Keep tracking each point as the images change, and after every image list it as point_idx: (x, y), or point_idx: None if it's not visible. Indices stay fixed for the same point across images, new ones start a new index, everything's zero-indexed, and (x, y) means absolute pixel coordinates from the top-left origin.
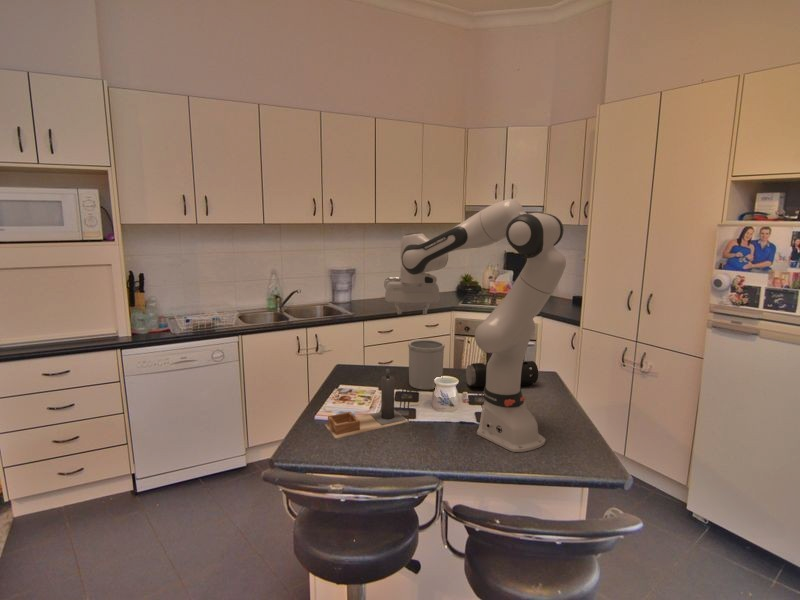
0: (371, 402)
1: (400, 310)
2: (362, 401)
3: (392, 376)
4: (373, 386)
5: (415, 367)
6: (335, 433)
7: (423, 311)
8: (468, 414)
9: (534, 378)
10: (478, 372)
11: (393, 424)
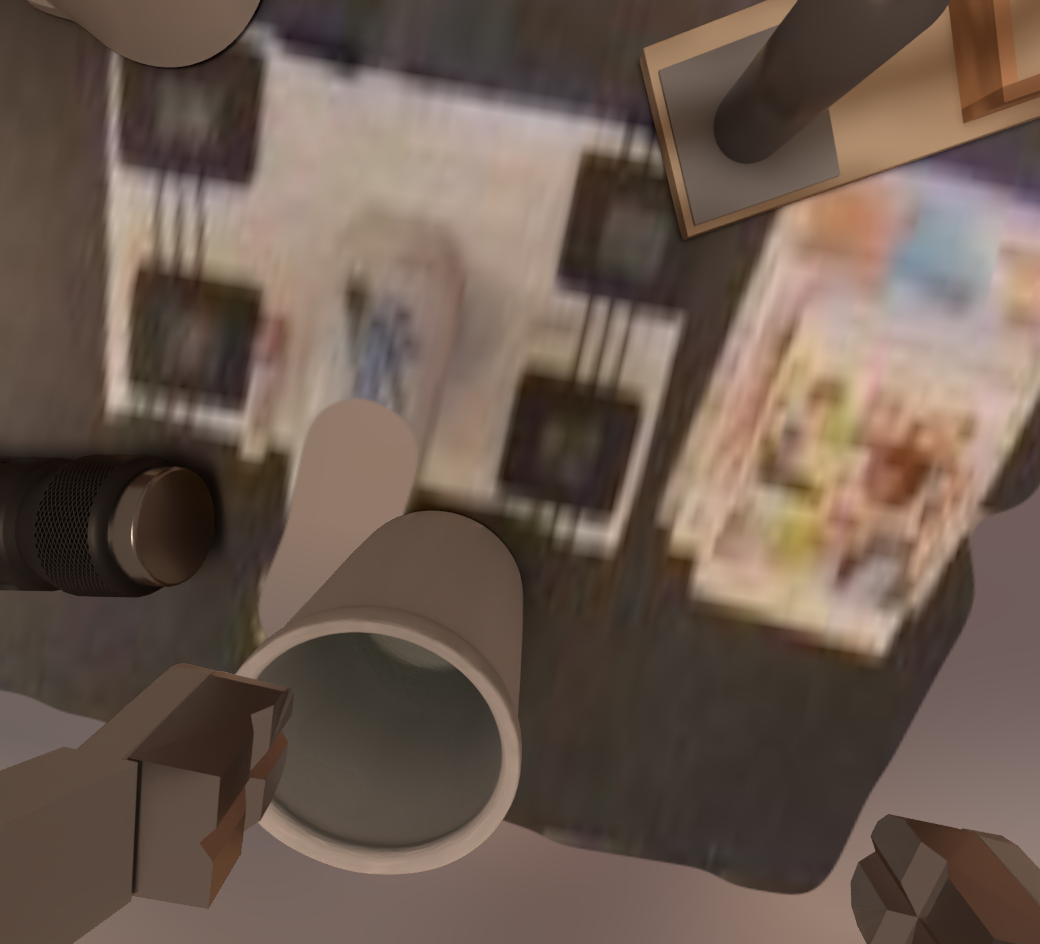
0: (770, 399)
1: (1009, 925)
2: (815, 420)
3: (841, 8)
4: (714, 603)
5: (493, 591)
6: None
7: (228, 738)
8: (291, 159)
9: None
10: (101, 476)
11: (739, 18)
